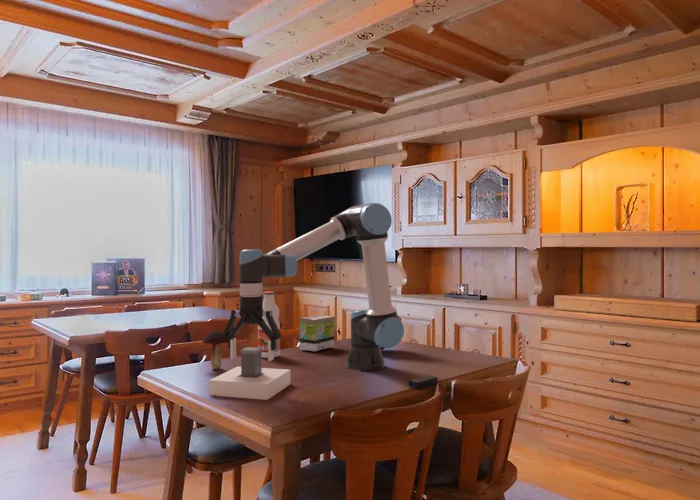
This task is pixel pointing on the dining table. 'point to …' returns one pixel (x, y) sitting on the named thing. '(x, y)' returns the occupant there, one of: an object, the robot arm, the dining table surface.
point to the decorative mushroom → (215, 347)
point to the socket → (250, 384)
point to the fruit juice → (262, 337)
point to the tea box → (317, 332)
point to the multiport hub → (423, 382)
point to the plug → (251, 362)
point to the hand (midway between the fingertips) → (252, 359)
